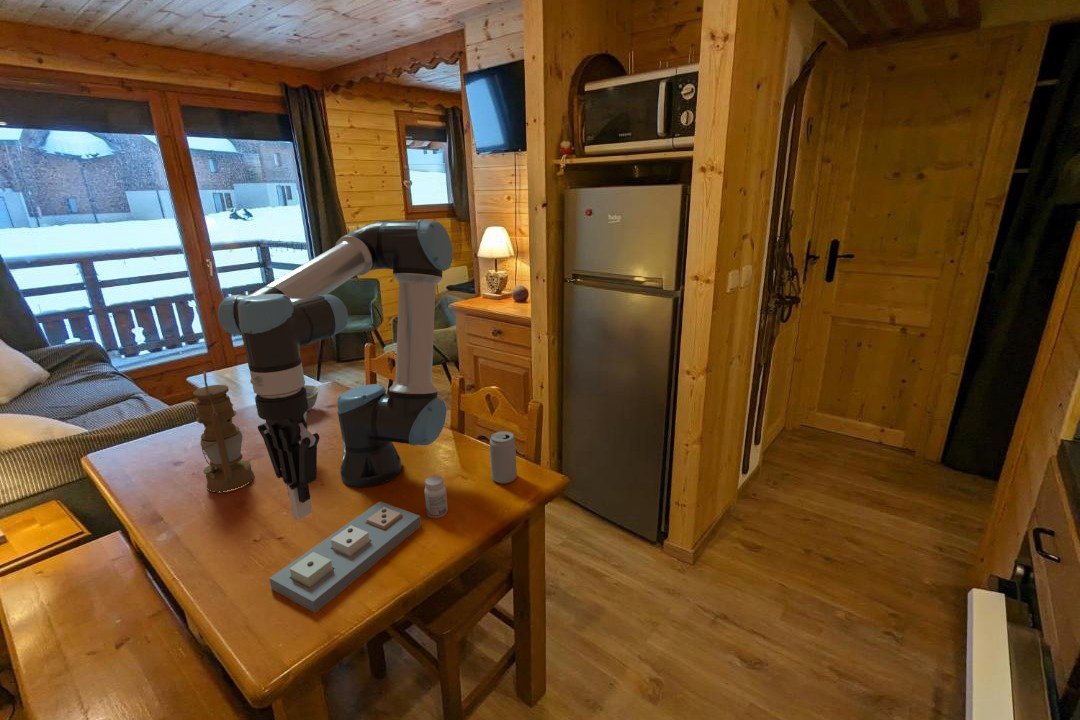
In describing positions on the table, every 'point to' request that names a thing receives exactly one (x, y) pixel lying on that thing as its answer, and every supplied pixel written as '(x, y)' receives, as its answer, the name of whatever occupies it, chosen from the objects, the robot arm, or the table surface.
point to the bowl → (311, 395)
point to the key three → (384, 518)
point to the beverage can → (503, 457)
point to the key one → (311, 569)
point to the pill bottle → (435, 496)
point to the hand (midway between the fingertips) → (303, 515)
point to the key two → (350, 541)
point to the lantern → (221, 439)
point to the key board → (346, 559)
